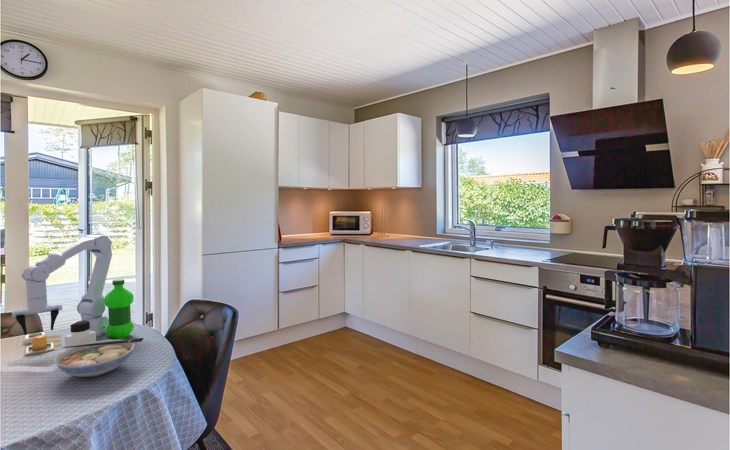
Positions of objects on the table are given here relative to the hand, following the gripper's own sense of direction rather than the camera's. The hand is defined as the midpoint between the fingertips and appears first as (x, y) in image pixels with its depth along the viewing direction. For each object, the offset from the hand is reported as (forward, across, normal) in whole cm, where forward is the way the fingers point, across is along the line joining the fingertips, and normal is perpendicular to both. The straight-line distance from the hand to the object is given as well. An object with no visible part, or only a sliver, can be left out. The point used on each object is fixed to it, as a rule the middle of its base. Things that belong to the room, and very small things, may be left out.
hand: (39, 331), depth 146 cm
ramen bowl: (+9, -15, +33) cm, 38 cm away
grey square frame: (+7, 0, 0) cm, 7 cm away
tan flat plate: (+9, -1, -7) cm, 11 cm away
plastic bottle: (+9, -26, -1) cm, 28 cm away
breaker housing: (+7, +2, -14) cm, 16 cm away
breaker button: (+7, +2, -14) cm, 16 cm away
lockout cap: (+7, 0, 0) cm, 7 cm away
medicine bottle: (+9, -12, +8) cm, 17 cm away
